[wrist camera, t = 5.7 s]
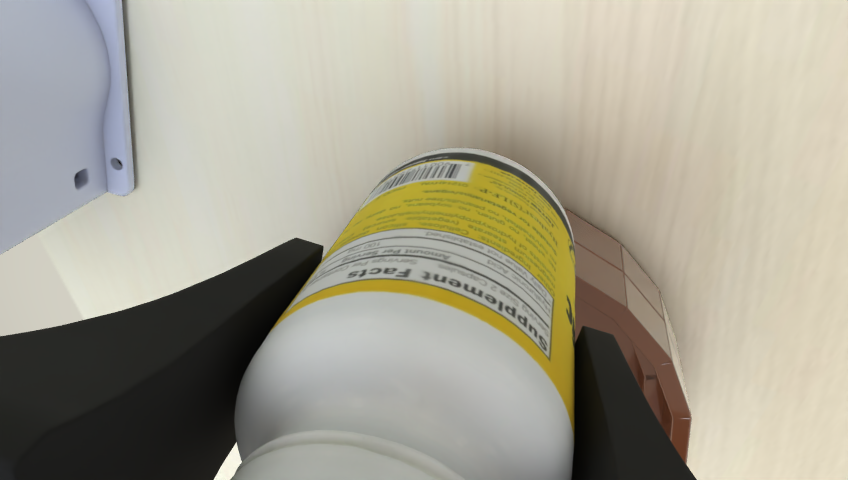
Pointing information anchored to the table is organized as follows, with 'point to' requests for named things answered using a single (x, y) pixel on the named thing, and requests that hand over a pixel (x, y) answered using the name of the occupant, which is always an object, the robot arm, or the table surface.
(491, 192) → the supplement bottle
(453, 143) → the table surface
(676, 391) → the glazed bowl
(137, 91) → the table surface
